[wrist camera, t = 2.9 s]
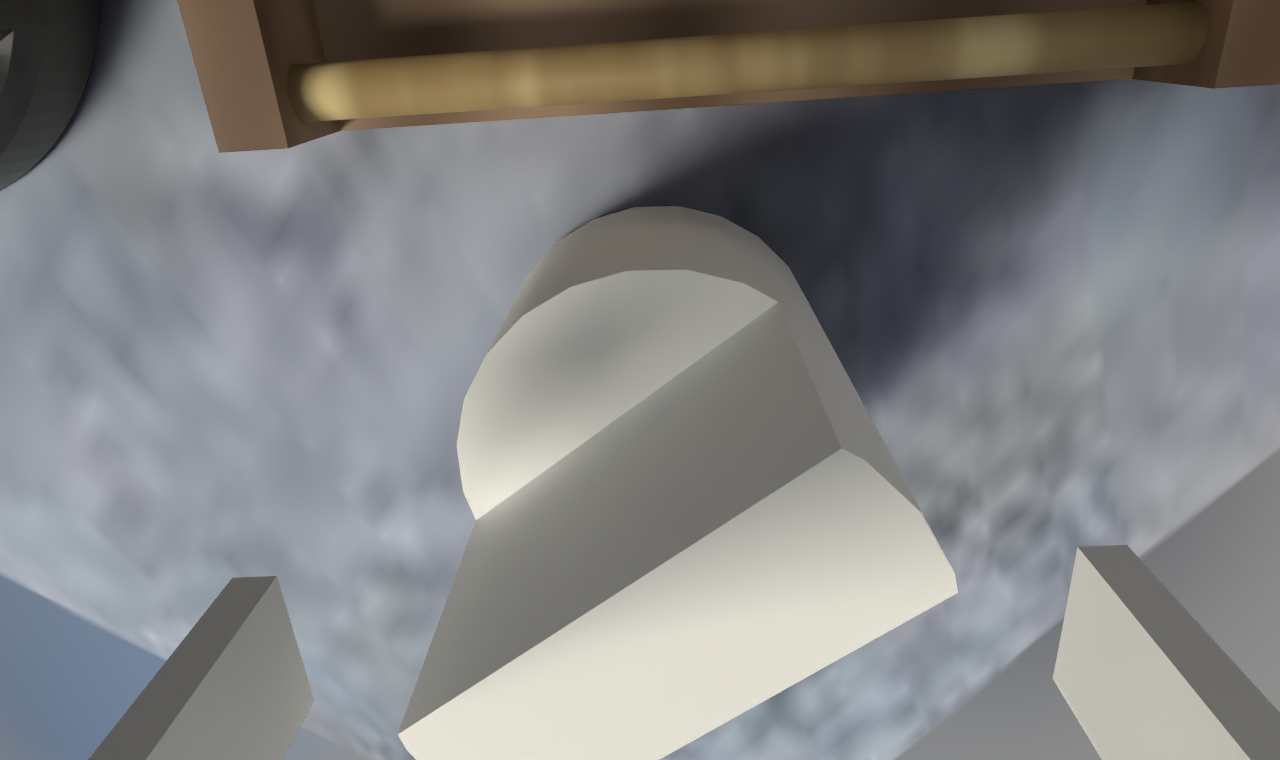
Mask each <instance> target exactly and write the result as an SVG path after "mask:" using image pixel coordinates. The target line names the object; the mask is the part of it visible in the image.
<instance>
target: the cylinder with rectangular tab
mask: <svg viewBox="0 0 1280 760" xmlns="http://www.w3.org/2000/svg"><path fill="white" fill-rule="evenodd" d="M457 451H458V458H459V466H460V473H461V480H462V487H463V492H464V494H465V497H466V499H467V501H468V503H469V505H470V508H471V510H472V512H473V514H474V516H475V519H476V523H475V525H474V528H473V531H472V533H471V536H470V539H469V542H468V544H467V547H466V550H465V553H464V555H463V558H462V561H461V563H460V566H459V569H458V572H457V574H456V577H455V580H454V583H453V585H452V588H451V591H450V593H449V596H448V599H447V602H446V604H445V607H444V610H443V613H442V615H441V618H440V621H439V623H438V626H437V629H436V632H435V634H434V637H433V640H432V643H431V645H430V648H429V651H428V653H427V656H426V659H425V662H424V664H423V667H422V670H421V673H420V675H419V678H418V681H417V683H416V686H415V689H414V692H413V694H412V697H411V700H410V703H409V705H408V708H407V711H406V713H405V716H404V719H403V722H402V724H401V727H400V730H399V733H398V736H399V737H400V739H401V741H402V743H403V744H404V746H405V748H406V750H407V751H408V752H409V753H410V754H411V755H412V756H413V757H414V758H415V759H416V760H659V759H661V758H663V757H665V756H666V755H668V754H670V753H672V752H674V751H675V750H677V749H679V748H681V747H683V746H684V745H686V744H688V743H690V742H692V741H693V740H695V739H697V738H699V737H700V736H702V735H704V734H706V733H708V732H709V731H711V730H713V729H715V728H717V727H718V726H720V725H722V724H724V723H726V722H727V721H729V720H731V719H733V718H734V717H736V716H738V715H740V714H742V713H743V712H745V711H747V710H749V709H751V708H752V707H754V706H756V705H758V704H760V703H761V702H763V701H765V700H767V699H768V698H770V697H772V696H774V695H776V694H777V693H779V692H781V691H783V690H785V689H786V688H788V687H790V686H792V685H794V684H795V683H797V682H799V681H801V680H802V679H804V678H806V677H808V676H810V675H811V674H813V673H815V672H817V671H819V670H820V669H822V668H824V667H826V666H828V665H829V664H831V663H833V662H835V661H836V660H838V659H840V658H842V657H844V656H845V655H847V654H849V653H851V652H853V651H854V650H856V649H858V648H860V647H861V646H863V645H865V644H867V643H869V642H870V641H872V640H874V639H876V638H878V637H879V636H881V635H883V634H885V633H887V632H888V631H890V630H892V629H894V628H895V627H897V626H899V625H901V624H903V623H904V622H906V621H908V620H910V619H912V618H913V617H915V616H917V615H919V614H921V613H922V612H924V611H926V610H928V609H929V608H931V607H933V606H935V605H937V604H938V603H940V602H942V601H944V600H946V599H947V598H949V597H951V596H953V595H955V594H956V593H958V590H957V584H956V578H955V573H954V571H953V569H952V567H951V565H950V563H949V562H948V560H947V558H946V556H945V554H944V552H943V550H942V549H941V547H940V545H939V543H938V541H937V539H936V538H935V536H934V534H933V532H932V530H931V528H930V526H929V525H928V523H927V521H926V519H925V517H924V515H923V513H922V512H921V510H920V508H919V506H918V504H917V502H916V501H915V499H914V497H913V495H912V493H911V491H910V489H909V488H908V486H907V484H906V482H905V480H904V478H903V476H902V475H901V473H900V471H899V469H898V467H897V465H896V464H895V462H894V460H893V458H892V456H891V454H890V452H889V451H888V449H887V447H886V445H885V443H884V441H883V439H882V438H881V436H880V434H879V432H878V430H877V428H876V427H875V425H874V423H873V421H872V419H871V417H870V415H869V414H868V412H867V410H866V408H865V406H864V404H863V402H862V401H861V399H860V397H859V395H858V393H857V391H856V390H855V388H854V386H853V384H852V382H851V380H850V378H849V377H848V375H847V373H846V371H845V369H844V367H843V366H842V364H841V362H840V360H839V358H838V356H837V354H836V353H835V351H834V349H833V347H832V345H831V343H830V341H829V340H828V338H827V336H826V334H825V332H824V330H823V329H822V327H821V325H820V323H819V321H818V319H817V317H816V316H815V314H814V312H813V310H812V308H811V306H810V304H809V303H808V301H807V299H806V297H805V295H804V294H803V292H802V290H801V288H800V286H799V285H798V283H797V281H796V279H795V277H794V276H793V274H792V272H791V270H790V268H789V267H788V265H787V264H786V263H785V262H784V261H783V260H782V259H781V258H780V257H779V256H778V255H777V254H776V253H774V252H773V251H772V250H771V249H770V248H769V247H768V246H767V245H766V244H765V243H764V242H763V241H762V240H761V239H760V238H759V237H758V236H756V235H754V234H753V233H751V232H749V231H747V230H745V229H744V228H742V227H740V226H738V225H736V224H735V223H733V222H731V221H729V220H727V219H725V218H724V217H722V216H718V215H714V214H710V213H706V212H702V211H698V210H694V209H690V208H685V207H681V206H656V207H633V208H630V209H626V210H623V211H620V212H616V213H613V214H610V215H606V216H603V217H599V218H596V219H593V220H591V221H590V222H588V223H586V224H585V225H583V226H582V227H580V228H578V229H577V230H575V231H573V232H572V233H570V234H569V235H567V236H565V237H564V238H562V239H561V240H559V241H557V242H556V243H555V244H554V246H553V247H552V248H551V249H550V250H549V251H548V252H547V253H546V254H545V255H544V256H543V257H542V259H541V260H540V261H539V262H538V263H537V264H536V265H535V266H534V267H533V268H532V269H531V271H530V272H529V273H528V275H527V277H526V279H525V281H524V283H523V285H522V287H521V289H520V291H519V293H518V295H517V297H516V298H515V300H514V302H513V304H512V306H511V308H510V310H509V312H508V314H507V316H506V318H505V320H504V321H503V323H502V325H501V327H500V329H499V331H498V333H497V335H496V337H495V339H494V341H493V343H492V345H491V346H490V348H489V350H488V352H487V354H486V356H485V358H484V360H483V362H482V364H481V366H480V368H479V370H478V372H477V374H476V376H475V378H474V380H473V382H472V384H471V386H470V388H469V390H468V392H467V394H466V396H465V398H464V404H463V410H462V416H461V422H460V428H459V435H458V441H457Z"/></svg>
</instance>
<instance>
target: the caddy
mask: <svg viewBox="0 0 1280 760" xmlns="http://www.w3.org/2000/svg"><path fill="white" fill-rule="evenodd" d="M178 4H179V8H180V11H181V15H182V19H183V22H184V26H185V30H186V33H187V37H188V41H189V44H190V48H191V52H192V55H193V59H194V63H195V66H196V70H197V74H198V77H199V81H200V84H201V88H202V92H203V95H204V99H205V103H206V106H207V110H208V114H209V117H210V121H211V125H212V128H213V132H214V136H215V139H216V143H217V147H218V150H219V153H220V152H236V151H251V150H267V149H282V148H290V147H293V146H296V145H299V144H302V143H305V142H308V141H311V140H314V139H317V138H320V137H323V136H326V135H329V134H332V133H335V132H338V131H343V130H359V129H374V128H389V127H404V126H420V125H435V124H450V123H466V122H481V121H496V120H511V119H527V118H542V117H557V116H573V115H588V114H603V113H618V112H634V111H649V110H664V109H680V108H695V107H710V106H726V105H741V104H756V103H771V102H787V101H802V100H817V99H833V98H848V97H863V96H878V95H894V94H909V93H924V92H940V91H955V90H970V89H985V88H1001V87H1016V86H1031V85H1047V84H1062V83H1077V82H1093V81H1108V80H1123V79H1138V80H1147V81H1155V82H1164V83H1173V84H1181V85H1190V86H1199V87H1207V88H1227V87H1242V86H1258V85H1273V84H1280V0H178Z"/></svg>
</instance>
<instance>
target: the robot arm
mask: <svg viewBox="0 0 1280 760" xmlns="http://www.w3.org/2000/svg"><path fill="white" fill-rule="evenodd" d="M100 5H101V0H0V191H1V190H2V189H4V188H5V187H7V186H9V185H10V184H12V183H13V182H15V181H16V180H18V179H19V178H20V177H21V176H23V175H24V174H25V173H26V172H28V171H29V170H30V169H31V168H32V167H33V166H34V165H35V164H36V163H38V162H39V161H40V160H41V159H42V158H43V157H44V156H45V154H46V153H47V152H48V151H49V150H50V148H51V147H52V146H53V145H54V144H55V142H56V141H57V140H58V138H59V137H60V135H61V134H62V132H63V131H64V129H65V128H66V126H67V124H68V123H69V121H70V119H71V117H72V115H73V114H74V112H75V110H76V108H77V105H78V103H79V101H80V98H81V96H82V94H83V92H84V89H85V86H86V83H87V80H88V77H89V74H90V70H91V66H92V62H93V58H94V53H95V49H96V43H97V36H98V29H99V19H100ZM1053 680H1054V681H1055V683H1056V685H1057V686H1058V688H1059V689H1060V691H1061V693H1062V694H1063V696H1064V698H1065V699H1066V701H1067V703H1068V705H1069V706H1070V708H1071V709H1072V711H1073V713H1074V714H1075V716H1076V717H1077V719H1078V721H1079V723H1080V724H1081V726H1082V728H1083V729H1084V731H1085V733H1086V734H1087V736H1088V737H1089V739H1090V741H1091V743H1092V744H1093V746H1094V747H1095V749H1096V751H1097V752H1098V754H1099V756H1100V757H1101V759H1102V760H1280V712H1279V711H1278V710H1277V709H1276V708H1275V707H1274V706H1273V705H1272V704H1271V703H1270V701H1269V700H1268V699H1267V698H1266V697H1265V696H1264V695H1263V694H1262V693H1261V692H1260V691H1259V689H1258V688H1257V687H1256V686H1255V685H1254V684H1253V683H1252V682H1251V681H1250V679H1249V678H1248V677H1247V676H1246V675H1245V674H1244V673H1243V672H1242V671H1241V670H1240V669H1239V668H1238V666H1237V665H1236V664H1235V663H1234V662H1233V661H1232V660H1231V659H1230V658H1229V656H1228V655H1226V653H1225V652H1224V651H1223V650H1222V649H1221V648H1220V647H1219V646H1218V644H1217V643H1216V642H1215V641H1214V640H1213V639H1212V638H1211V637H1210V636H1209V634H1208V633H1207V632H1206V631H1205V630H1204V629H1203V628H1202V627H1201V626H1200V625H1199V624H1198V622H1197V621H1196V620H1195V619H1194V618H1193V617H1192V616H1191V615H1190V614H1189V613H1188V611H1187V610H1186V609H1185V608H1184V607H1183V606H1182V605H1181V604H1180V603H1179V602H1178V601H1177V600H1176V598H1175V597H1174V596H1173V595H1172V594H1171V593H1170V592H1169V591H1168V590H1167V588H1166V587H1165V586H1164V585H1163V584H1162V583H1161V582H1160V581H1159V580H1158V579H1157V577H1155V575H1154V574H1153V573H1152V572H1151V571H1150V570H1149V569H1148V568H1147V567H1146V566H1145V564H1144V563H1143V562H1142V561H1141V560H1140V559H1139V558H1138V557H1137V555H1136V554H1135V553H1134V552H1133V551H1132V550H1131V549H1130V548H1129V547H1128V546H1127V545H1115V546H1087V547H1078V548H1077V553H1076V559H1075V564H1074V569H1073V575H1072V580H1071V585H1070V591H1069V596H1068V601H1067V607H1066V612H1065V617H1064V623H1063V628H1062V633H1061V639H1060V644H1059V649H1058V655H1057V660H1056V665H1055V671H1054V676H1053ZM313 701H314V698H313V695H312V691H311V688H310V685H309V681H308V678H307V675H306V671H305V668H304V665H303V661H302V658H301V655H300V651H299V648H298V645H297V641H296V638H295V635H294V632H293V628H292V625H291V622H290V618H289V615H288V612H287V608H286V605H285V602H284V598H283V595H282V592H281V588H280V585H279V582H278V578H277V576H269V577H242V578H232V579H231V580H230V582H229V583H228V584H227V585H226V587H225V588H224V589H223V590H222V592H221V593H220V594H219V596H218V597H217V598H216V599H215V601H214V602H213V603H212V604H211V606H210V607H209V608H208V609H207V611H206V612H205V613H204V614H203V616H202V617H201V618H200V620H199V621H198V622H197V623H196V625H195V626H194V627H193V628H192V630H191V631H190V632H189V633H188V635H187V636H186V637H185V638H184V640H183V641H182V642H181V643H180V645H179V646H178V647H177V649H176V650H175V651H174V652H173V654H172V655H171V656H170V657H169V659H168V660H167V661H166V662H165V664H164V665H163V666H162V668H161V669H160V670H159V671H158V672H157V674H156V675H155V676H154V678H153V679H152V680H151V681H150V683H149V684H148V685H147V687H146V688H145V689H144V690H143V691H142V693H141V694H140V695H139V696H138V698H137V699H136V700H135V701H134V703H133V704H132V705H131V707H130V708H129V709H128V710H127V712H126V713H125V714H124V715H123V717H122V718H121V719H120V721H119V722H118V723H117V724H116V726H115V727H114V728H113V729H112V730H111V732H110V733H109V734H108V736H107V737H106V738H105V739H104V741H103V742H102V743H101V745H100V746H99V747H98V748H97V749H96V751H95V752H94V753H93V754H92V756H91V757H90V758H89V759H88V760H283V759H284V757H285V755H286V753H287V751H288V749H289V747H290V745H291V743H292V741H293V740H294V738H295V736H296V734H297V732H298V730H299V728H300V726H301V724H302V722H303V720H304V719H305V717H306V715H307V713H308V711H309V709H310V707H311V705H312V703H313Z"/></svg>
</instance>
